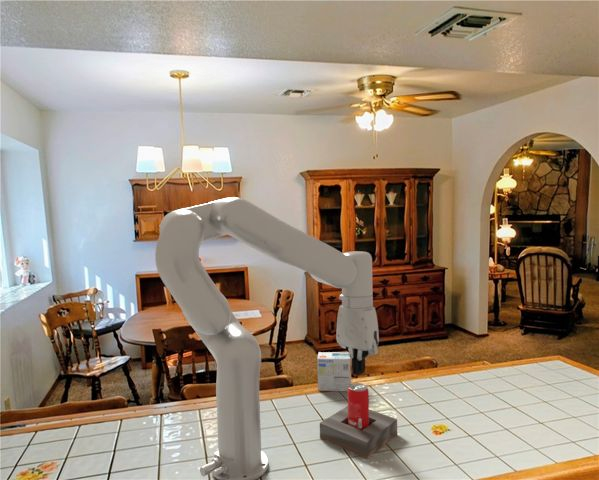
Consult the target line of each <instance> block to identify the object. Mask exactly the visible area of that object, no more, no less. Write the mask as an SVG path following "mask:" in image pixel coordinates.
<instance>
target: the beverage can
mask: <svg viewBox="0 0 599 480" xmlns="http://www.w3.org/2000/svg"><path fill="white" fill-rule="evenodd" d="M369 397H370V395H369V388H368V386H367V385H366V384H364V383H360V382H354V383H351V384H350V385H349V388H348V391H347V406H348V425H349V426H352V427H355V428H357V429H360V430H364V429H365V428H367V427H368V426H369V410H370V405H369V404H370V403H369Z"/></svg>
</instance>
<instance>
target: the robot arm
mask: <svg viewBox="0 0 599 480" xmlns="http://www.w3.org/2000/svg"><path fill="white" fill-rule="evenodd" d="M160 221H161V222H160V224H159V236H158V239H157V241H156V245H155V251H154V252H155V254H154V255H155V258H154V259H155V266H156V270H157V273H158V276H159V278H160V279H161V281H162V283H163V284H164V286H165V287H166V288H167V290H168V292H169V293H170V295H171V296H172V297H173V299H174V301H175V302H176V303H177V305H178V306H179V307H180V309H181V312H182V314H183V316H184V318H185V320H186V321H187V323H188V324H189V325H190V326H191V327H192V329H193V330H194V331H195V333H196V334H197V336H198V338H199V339H200V340H201V341H202V343H203V344H204V345H205V347H206V348H207V349H208V352H210V354H211V355H212V357H213V359H214V360H215V362H216V383H215V394H216V395H215V396H216V397H215V398H216V402H215V403H216V414H217V415H216V420H217V421H216V425H217V445H218V446H217V448H218V449H217V451H215V452H214V456H213V457H214V458H213V459H212V460H211V461H210V462H209V463H206V464H205V465H203V466H201V467H199V473H200V475H201V476H202V477H206V476H207V475H210V474H212V476H213V477H214V478H216V479H217V480H257V479H259V478H260V477H262V476H263V475H264V474H265V473H266V472H267V470H268V468H269V458H268V455H267V454H266V453H265V452H264V451H262V439H261V438H262V436H261V435H262V433H261V405H260V404H261V402H260V374H261V373H260V372H261V363H262V352H261V347H260V345H259V342H258V341H257V339H256V338H255V336H254V334H252V333H251V332H250V331H249V330H248V329H246V328H245V327H244V326H243V325H242V324H241V323H240V321H239V319H237V318H236V316H235V315H234V313H233V311H232V308H231V306H230V304H229V301H228V299H227V298H226V297H225V295H224V294H223V293H222V292H221V291H220V290H219V288H218V287H217V285H216V284H215V283H214V281H213V280H212V278H211V277H210V275H209V274H208V272H207V271H206V269H205V268H204V265H203V263H202V262H201V259H200V256H199V255H200V247H201V245H202V243H203V242H206V241H210V240H214V239H216V238H217V239H218V238H220V237H224V236H227V235H228V236H230V237H232V238H233V239H236V240H238V241H239V242H241V243H243V244H245V245H247V246H249V247H250V248H252V249H254V250H256V251H258V252H260V253H262V254H263V255H265V256H267V257H269V258H271V259H273V260H276V261H277V262H280V263H282V264H286V265H289V266H292V267H296V268H297V269H299V270H302V271H305V272H307V273H308V274H309V275H310V277H311V278H312V279H313V280H315V281H317V282H318V283H321V284H324V285H327V286H331V287H334V288H336V289H341V294H339V296H338V299H339V300H341V305H339V307H338V312H337V321H336V342H337V344H338V345H339V347H341V348H343V349H345V350H346V352H348V353H349V356H350V359H351V369H352V370H351V375H356V376H358V377H359V376H360V375H363V374H365V371H366V358H368V356H375V355H377V354H378V353H379V351H378V346H379V341H380V340H379V339H380V338H379V337H380V335H379V323H378V316H377V311H376V307H374V303H373V302H374V301H373V298H374V297H373V293H374V292H373V257H372V255H371V254H370V253H369V252H367V251H358V250H356V251H355V250H354V251H346V252H341V251H340V250H338V249H337V248H335V247H333V246H331V245H329V244H328V243H326V242H323V241H321V240H320V239H318V238H316V237H313V236H312V235H309V233H305V232H303V230H301V229H299V228H296V227H295V226H292V225H290V224H288V223H287V222H286V221H285V222H284V221H283V220H281V219H280V218H277V217H276V216H274V215H272V214H270V213H269V212H267V211H266V210H264V209H263V208H261V207H259V206H257V205H255V204H253V203H252V202H250V201H248V200H246V199H244V198H242V197H239V196H238V197H236V196H232V197H225V198H221V199H217V200H214V201H209V202H208V203H203V204H199V205H194V206H190V207H184V208H180V209H176V210H172V211H170V212H168V213H167V214H166V215H164V217H163V218H162V220H160Z"/></svg>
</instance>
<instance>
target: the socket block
mask: <svg viewBox="0 0 599 480" xmlns="http://www.w3.org/2000/svg"><path fill="white" fill-rule="evenodd" d="M397 435H398V419H397V418H395V417H391V416H390V415H386V414H383V413H381V412H378V411H375V410H371V409H369V426H368V427H367V428H365V429H364V430H360V429H357V428H355V427H352V426H349V425H348V405H346V406H345V407H344V408H342V409H340V410H338V411H337V412H335V413H334V414H332V415H330V416H329V417H327V418H325V419H324V420H322V421H320V422H319V439H321V440H323V441H326V442H327V443H331V444H332V445H335V446H336V447H339V448H342V449H344V450H346V451H348V452H350V453H353V454H355V455H357V456H360V457H361V458H364V459H369V458H370V457H371V456H372V455H374V454H375V453H376V452H378V451H379V450H380V449H381V448H382V447H384V446H385V445H386V444H387V443H388V442H390V441H391V440H392V439H394V438H395V437H396V436H397Z"/></svg>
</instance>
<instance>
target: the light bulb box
mask: <svg viewBox="0 0 599 480" xmlns="http://www.w3.org/2000/svg"><path fill="white" fill-rule="evenodd" d="M316 358H317V360H316V361H317V362H316V363H317V391H318V392H325V391H327V392H348V388H349V385H350V384H352V370H351V369H352V363H351V358H350V356H349V353H348V351H345V352H344V351H343V352H336V351H335V352H334V351H332V352H330V351H328V352H327V351H326V352H324V351H323V352H321V351H318V354H317V357H316Z"/></svg>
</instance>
